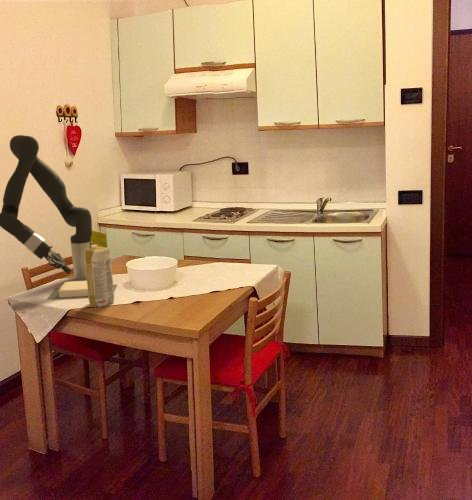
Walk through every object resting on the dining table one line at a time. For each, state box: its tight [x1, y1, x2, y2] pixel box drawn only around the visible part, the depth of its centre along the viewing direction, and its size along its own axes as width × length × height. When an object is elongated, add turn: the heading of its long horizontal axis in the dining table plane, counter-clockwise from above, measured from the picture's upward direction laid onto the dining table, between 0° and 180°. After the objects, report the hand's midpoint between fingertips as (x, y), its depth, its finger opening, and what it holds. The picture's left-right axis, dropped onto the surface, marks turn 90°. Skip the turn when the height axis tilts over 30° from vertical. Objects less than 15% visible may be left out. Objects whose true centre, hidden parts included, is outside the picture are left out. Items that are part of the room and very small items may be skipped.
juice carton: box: [84, 245, 115, 308], centre depth 256 cm, size 9×8×24 cm
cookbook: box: [59, 280, 88, 298], centre depth 276 cm, size 3×14×20 cm
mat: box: [45, 284, 118, 301], centre depth 276 cm, size 27×18×1 cm, turn 93°
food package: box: [91, 230, 108, 248], centre depth 307 cm, size 15×1×20 cm, turn 41°
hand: (70, 272), depth 273 cm, fingers closed
